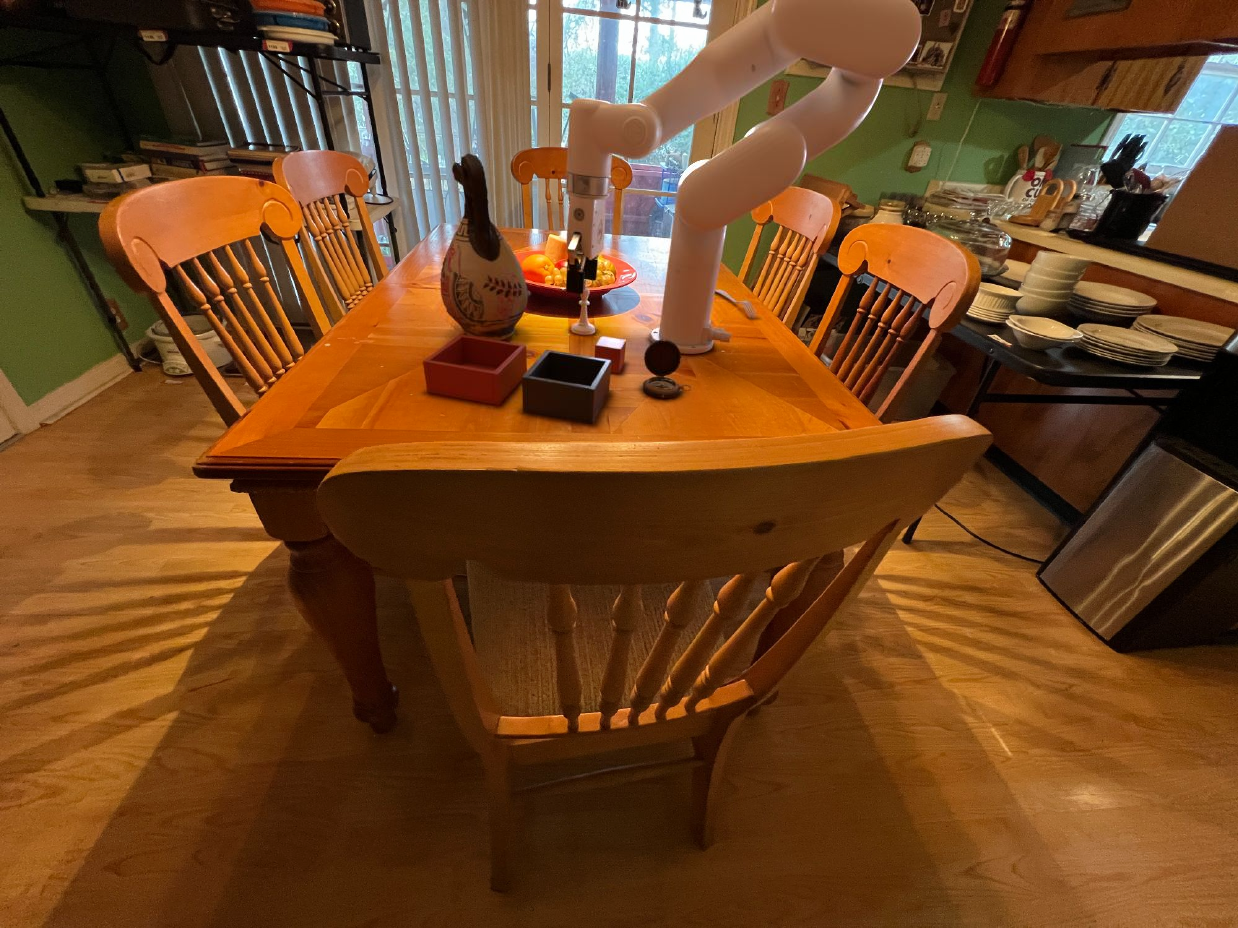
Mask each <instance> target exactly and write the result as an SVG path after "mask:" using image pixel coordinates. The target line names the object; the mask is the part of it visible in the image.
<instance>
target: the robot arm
mask: <svg viewBox="0 0 1238 928" xmlns="http://www.w3.org/2000/svg"><path fill="white" fill-rule="evenodd" d="M922 24H923V23H922V17H921V13H920V11H919V9H918V7H917V6H916V5H915V3H914V2H913V1H912V0H768V1H766V2H765V3H764V4H762V5H761V6H760V7H758V8H756V9H755V10H754V11H753V12H751V13H750V14H749V15H747V16H746V17H744V18H743V19H742V20H740V21H739V22H738V23H736V24H735V25H733V26H732V27H731V28H729V29H728V30H726V31H725V32H723V33H722V34H720V35H719V36H717V37H716V38H715V39H713V40H712V41H710V42H709V43H707V44H706V45H705V46H704V47H703V48H701V50H700V51H699V52H697V54H695V55H694V57H693V58H692V59H691V60H690V61H689V63H688V64H687V65H685V67H684V68H682V69H681V71H679V73H677V74H675V75H674V76H673V77H672V78H671V79H670V80H668V81H667V82H666V83H664V84H663V85H662V86H660V87H659V88H658V89H656V90H655V91H653V92H652V93H651V94H649V95H648V96H646V97H645V98H643V99H642V100H640V101H639V102H637V103H636V102H635V103H611V102H609V101H606V100H599V99H594V98H586V97H585V98H584V97H577V98H574V99H573V100H572V101H570V104H569V111H568V131H567V132H568V135H567V156H566V158H567V159H566V183H565V194H566V195H567V196H569V206H568V215H567V228H566V254H567V258H566V262H567V264H566V285H565V291H566V292H567V293H570V294H576V295H580V294H582V293H583V289H584V280H586V281H592V282H595V281H596V280H597V278H598V263H599V255H600V253H602V252H603V251H604V248H605V233H606V232H605V231H606V229H605V228H606V200H608V199H609V197H610V185H611V174H612V163H613V155H615V156H619V157H622V158H625V159H629V160H642V159H645V158H647V157H649V156H650V155H651V154H652V153H653V152H654V151H656V150H658V148H660V147H662V146H663V145H664V144H665V143H668V142H669V141H670V140H672V139H674V138H675V137H676V136H678V135H679V134H681V133H682V132H684V131H685V130H687V129H689V128H690V127H692V126H693V125H695V124H696V123H698V122H700V121H702V120H704V119H706V118H708V117H710V116H712V115H715V114H718V113H720V112H721V111H723V110H724V109H726V108H728V107H729V106H731V105H733V104H734V103H736V102H737V101H739V100H740V99H741V98H743V97H744V96H746V95H748V94H749V93H751V92H752V91H754V90H755V89H756V88H758V87H760V86H761V85H763V84H764V83H766V82H767V81H769V80H771V79H772V78H773V77H775V76H776V75H778V74H780V73H781V72H782V71H784V70H785V69H787V68H788V67H790V66H792V65H793V64H795V63H796V62H798V61H799V60H801V59H804V60H808V61H811V62H814V63H818V64H821V65H825V66H826V67H827V66H828V67H830V68H831V70H830V72H829V74H828V76H827V77H826V79H824V81H823V82H822V83H821V84H819V86H817V87H815V89H813V90H811V91H810V92H808V93H807V94H806V95H804V96H803V97H802V98H800V99H799V100H798V101H796V102H795V103H793V104H791V105H790V106H788V107H787V108H785V109H783V110H782V111H780V112H779V113H777V114H776V115H773V116H772V117H770V118H769V119H766V120H764V121H762V122H760V123H758V124H756V125H755V126H753V127H752V128H751V129H749V131H748V132H746V134H745V135H744V137H743V138H741V139H740V140H738V141H737V142H735V143H733V144H732V145H731V146H729V147H727V148H726V149H724V150H722V151H721V152H720V153H718V154H716V155H715V156H713V157H712V158H710V159H702V160H699V161H696V162H694V163H692V164H691V165H690V166H688V168H686V169H685V171H684V172H683V173H682V175H681V176H680V179H679V181H678V183H677V188H676V195H675V206H674V213H673V221H672V230H671V237H670V244H669V254H668V261H667V269H666V275H665V283H664V290H663V291H664V292H663V299H662V307H661V315H660V321H659V327H656V328H654V329H653V330H652V331H651V333H650V340H651V343H653V342H654V341H657V340H662V339H666V340H670V341H672V342H673V343H675V344H676V345H677V347H678V348H679V351H680V354H684V355H685V354H687V355H697V354H703V353H706V352H708V351H710V350H711V349H713V346H714V341H719V342H722V343H728V344H729V343H730V339H731V334H732V332H729V331H726V329H725V328H720V327H714V325H711V324H712V319H711V315H712V309H713V305H714V299H715V293H716V292H715V290H717V289H716V288H717V283H718V277H719V272H720V267H721V262H722V258H723V253H724V246H725V240H726V233H727V227H728V225H729V224H732V223H733V222H735V221H737V220H738V219H740V218H742V217H744V216H745V215H747V214H749V213H750V212H752V211H754V210H756V209H758V208H759V207H761V206H763V205H765V204H766V203H768V202H770V201H771V200H773V199H775V198H776V197H778V196H779V195H781V194H782V193H784V192H785V191H787V189H789V188H790V187H791V186H792V185H793V184H794V183H795V182H796V181H797V180H798V178H799V176H800V175H801V173H802V172H803V169H804V168H805V165H806V164H808V163H809V162H811V161H812V160H814V159H816V158H817V157H818V156H820V155H822V154H823V153H825V152H826V151H828V150H830V149H831V148H832V147H834V146H835V145H837V144H838V143H840V142H842V141H843V140H844V139H846V138H847V137H848V136H849V135H850V134H852V133H853V132H854V131H855V130H856V129H857V128H858V127H859V126H860V125H861V123H862V122H863V121H864V120H865V118H866V117H867V116H868V114H869V112H870V111H871V109H872V107H873V105H874V104H875V102H876V99H877V98H878V95H879V93H880V91H881V87H882V85H883V82H884V79H886V78H888V77H891V76H892V75H895V74H896V73H898V72H899V71H900V70H901V69H902V68H903V67H904V66H905V65H907V63H908V62H909V61H910V59H911V58H912V57H913V56H914V54H915V52H916V50H917V48H918V45H919V42H920V40H921V35H922V29H923V28H922V27H923V26H922Z"/></svg>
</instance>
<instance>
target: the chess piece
mask: <svg viewBox="0 0 1238 928" xmlns="http://www.w3.org/2000/svg"><path fill="white" fill-rule="evenodd" d="M587 285H588V282H587V280H586V279H584V289H583V293H582V294H579V295H580V299H581V300H579V301H578V304H579V305H580V306H581V308H580V315H579V320H578V321H577V322H575V323H573V324H572V325H571V327H570V328H571V329H570V331H571V332H572V333H573V334H576V335H581V336H589V335H593V334H595V333H596V327H595V325H594V324H591V323H590V321H589V319H588V307H587V306H589V305H590V301H588V298H589V296H590V293H591V291H590V289H589V288H588V289H587Z"/></svg>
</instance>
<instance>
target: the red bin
mask: <svg viewBox="0 0 1238 928" xmlns="http://www.w3.org/2000/svg"><path fill="white" fill-rule="evenodd" d="M527 356H528V355H527V345H526V344H521V343H515V342H509V341H503V340H500V341H497V340H491V339H485V338H479V337H473V336H467V335H466V334H462V333H461V334H458V335H457V336H455V337H453V338H452V339H451V340H450V341H448V342H447V343H446V344H444V345H442V346H441V347H440V348H439V349H438V350H436V351H434V352H433V353H431V355H429V356H428V357H426V358H425V359H423V361H422V366H423V374H424V378H425V386H426V392H427V393H430V394H434V395H440V396H446V397H452V398H458V399H463V400H468V401H472V402H478V403H483V404H490V405H495V406H501V404H502V403H503V401H504V400H505V399H507V397H508V396H509V395H510V394H511V393H512V391H513V390H514V389H515V388H516V387H517V386H518V385H519V384H520V383H521V382H522V376H523V375H524V374H525V373H526V372H527V371H528V360H527V359H528V358H527Z"/></svg>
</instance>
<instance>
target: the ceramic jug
mask: <svg viewBox="0 0 1238 928" xmlns="http://www.w3.org/2000/svg"><path fill="white" fill-rule="evenodd" d="M451 172H452V174H453V178H454V179H453V180H455V181H456V182H457V183H458V184H459V185H460V186H462V190H463V196H464V203H463V204H464V205H463V206H464V207H463V216H462V217H461V221H460V223H459V226H458V228H457V230H455V232H454V235H453V237H452V239H451V241H450V244H449V246H448V248H447V251H446V252H445V256H444V258H443V261H442V267H441V269H440V279H439V280H440V296H441V299H442V303H443V305H444V307H445V309H446V310H445V311H446V313H447V314H448V315H449V317H451V319H453V320H454V321H455V322H456V323H457V325H459V326H460V328H461V329H462V330H463V331H464V332H465V335H467V336H473V337H479V338H485V339H491V340H497V341H503V340H506V339H509V338H511V337H512V336H513V335H514V334H515V330H516V329H515V327H516V325H517V324H518V323H519V321H520V320H521V319H522V317H523V316H524V313H525V310H526V308H527V305H528V297H529V296H528V286H527V282H526V277H525V275H524V271H523V269H522V266H521V263H520V262H519V260H518V258H517V256H516V254H515V253H514V251H513V250H512V248H511V246H510V245H509V243H508V242H507V239H506V238H505V237H504V236H503V235H502V233H501V232H500V230H499V229H498V227H497V226H496V225H495V223H493V222H492V221H491V218H490V212H489V211H490V210H489V198H488V196H489V195H488V193H489V191H488V186H487V179H486V171H485V169H484V166H483V163H482V161H481V160H480V159H479V157H478V156H477V155H476V154H472V153H466V154H465V155H463V156H461V157H460V163H459V162H454V163H453V165H452V168H451Z"/></svg>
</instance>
